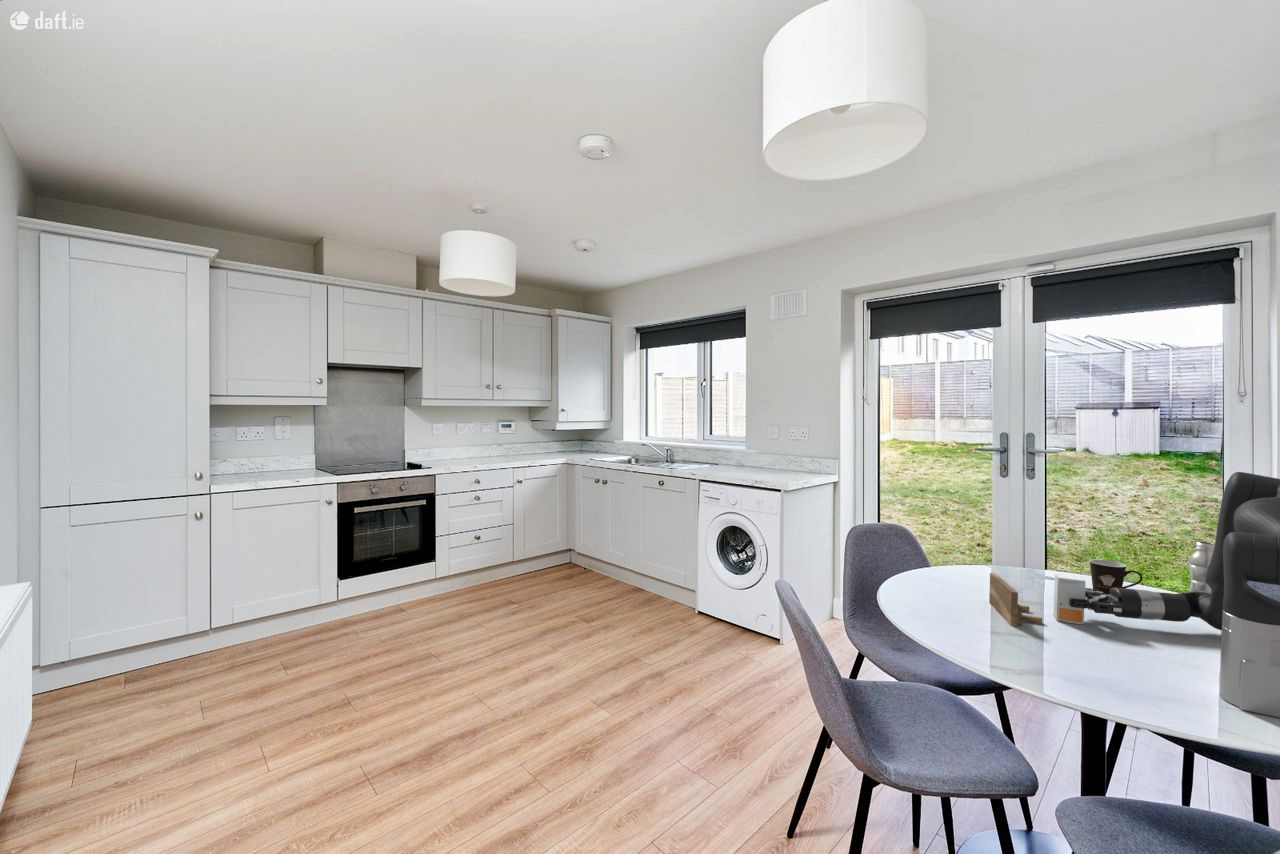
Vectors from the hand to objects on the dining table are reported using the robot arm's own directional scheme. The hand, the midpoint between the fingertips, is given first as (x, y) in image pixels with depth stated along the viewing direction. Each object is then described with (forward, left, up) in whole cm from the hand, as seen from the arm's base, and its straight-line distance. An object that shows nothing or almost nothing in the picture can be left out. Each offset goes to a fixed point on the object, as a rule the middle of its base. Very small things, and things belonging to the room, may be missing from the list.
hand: (1062, 597), depth 148 cm
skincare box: (0, -1, -7) cm, 7 cm away
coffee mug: (+32, -15, -6) cm, 36 cm away
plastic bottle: (+28, -34, -6) cm, 45 cm away
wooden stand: (-3, +10, -6) cm, 12 cm away
